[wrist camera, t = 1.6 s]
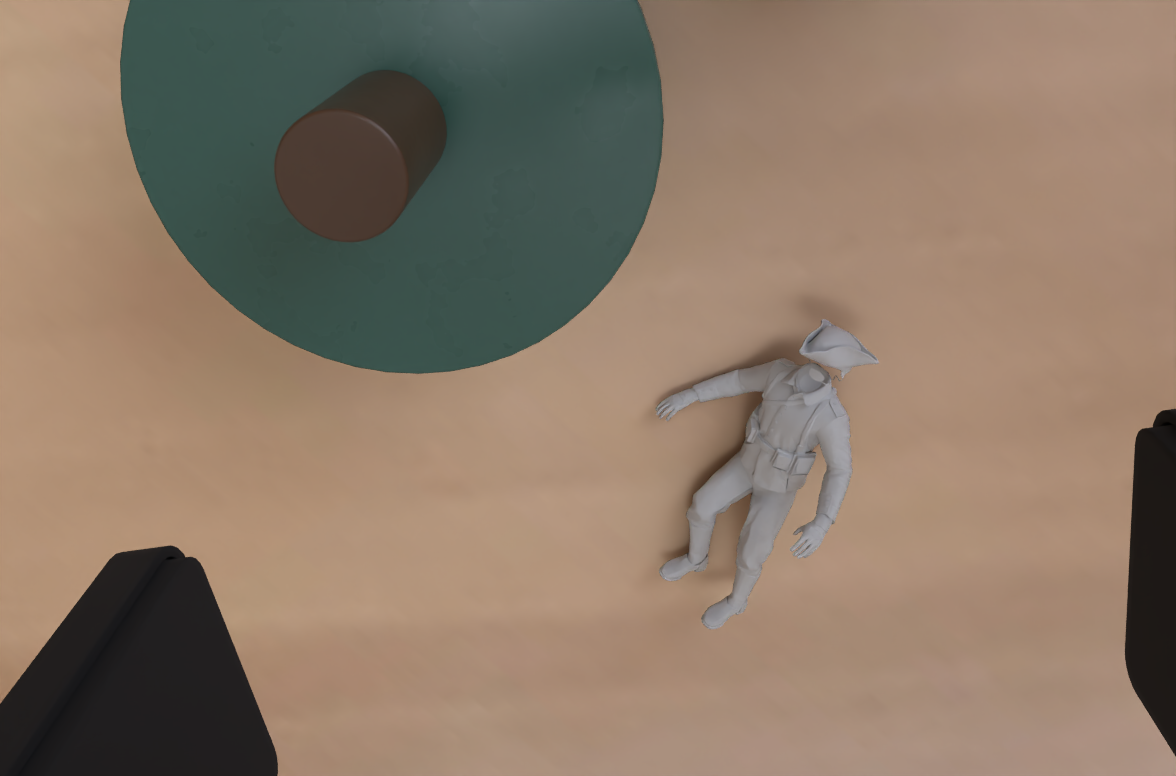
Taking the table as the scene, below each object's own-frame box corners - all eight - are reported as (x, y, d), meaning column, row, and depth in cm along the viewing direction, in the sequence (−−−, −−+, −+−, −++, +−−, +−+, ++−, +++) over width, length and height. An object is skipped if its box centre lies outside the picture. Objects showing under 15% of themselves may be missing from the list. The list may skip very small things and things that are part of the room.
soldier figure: (608, 521, 43) (677, 294, 34) (696, 475, 45) (780, 254, 37) (737, 669, 39) (850, 454, 31) (825, 610, 42) (951, 397, 33)
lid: (519, -291, 23) (482, -341, 18) (740, 247, 28) (763, 335, 23) (33, -22, 26) (-126, 5, 21) (311, 422, 31) (242, 536, 26)
